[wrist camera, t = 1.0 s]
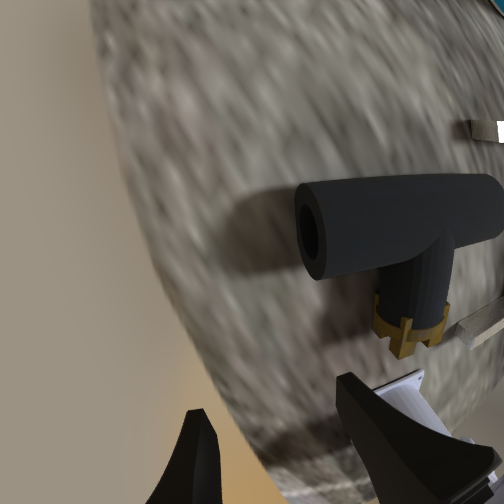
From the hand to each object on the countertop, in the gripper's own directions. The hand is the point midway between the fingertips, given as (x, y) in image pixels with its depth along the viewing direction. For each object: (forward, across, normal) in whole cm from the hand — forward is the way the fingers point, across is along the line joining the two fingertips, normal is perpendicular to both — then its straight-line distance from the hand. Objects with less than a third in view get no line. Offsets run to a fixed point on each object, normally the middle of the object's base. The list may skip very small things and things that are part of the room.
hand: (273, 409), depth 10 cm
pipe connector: (+9, -11, -1) cm, 14 cm away
